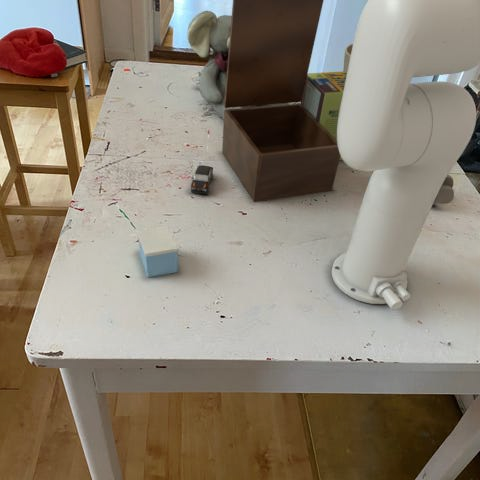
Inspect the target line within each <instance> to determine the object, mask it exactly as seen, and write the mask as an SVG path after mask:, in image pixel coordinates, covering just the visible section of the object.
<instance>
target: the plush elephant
mask: <svg viewBox="0 0 480 480" xmlns="http://www.w3.org/2000/svg"><path fill="white" fill-rule="evenodd" d="M231 18H232V14H231V15H229V14H228V15H227V14H223V15H219V16H218V17H217V15H216V13H214V12H213V11H210V10H203V11H200V12H199V13H197V14H196V15H195V16H194V17H193V18H192V19H191V21H190V22H189V24H188V27H187V34H186V39H187V41H188V44H189V46H190V48H191V49H192V50H193V52H195V53H196V54H197V55H198V56H199V57H200V58H208V57H210V58H209V59H208V61H207V63H206V64H205V65H204V66H203V68H202V69H201V71H197V74H198V78H197V79H195V82H198V83H196V84H195V85H196V89H197V90H199V91H200V95H201V97H202V98H203V99H204V100H205V101H206V103H207V104H208V105H209V106H210V107H211V109H212V110H213V111H214V112H215V114H217V115H218V116H219V117H220V118H221V119H222V120H224V109H236V108H246V106H243V107H230V108H225V107H224V99H225V88H226V76H227V64H228V53H229V41H230V30H231ZM211 50H212V51H213V53H212V56H210V55H211ZM286 104H290V103H281V104H268V105H256V106H255V107H261V106H274V105H286Z"/></svg>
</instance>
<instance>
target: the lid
mask: <svg viewBox="0 0 480 480" xmlns="http://www.w3.org/2000/svg"><path fill="white" fill-rule="evenodd" d="M323 5H324V0H232V6H231V16H232V18H231V30H230V41H229V53H228V64H227V76H226V88H225V99H224V107H225V108H230V107H243V106H245V107H257V106H256V105H268V104H281V103H289V104H295V103H301V101H302V96H303V92H304V87H305V83H306V78H307V74H308V73H309V68H310V65H311V60H312V56H313V51H314V45H315V41H316V37H317V32H318V27H319V23H320V19H321V13H322V11H323ZM243 108H244V107H243Z"/></svg>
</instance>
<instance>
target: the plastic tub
mask: <svg viewBox="0 0 480 480" xmlns="http://www.w3.org/2000/svg"><path fill="white" fill-rule="evenodd" d="M136 234H137V237H138V247H139V248H138V249H139V257H140V258H141V261H142V264H143V267H144V270H145V273H146V277H147V278H151V277H152V278H153V277H158V276H162V275H163V276H164V275H170V274H173V273H174V274H175V273H179V269H178V268H179V266H178V265H179V262H178V260H179V259H178V252H179V248H178V245H177V242H176V240H175V239H174V235H173V233H172V231H171V229H170V226H169V225H163V226H162V225H161V226H157V227H156V226H155V227H149V228H143V229H137V230H136Z"/></svg>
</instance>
